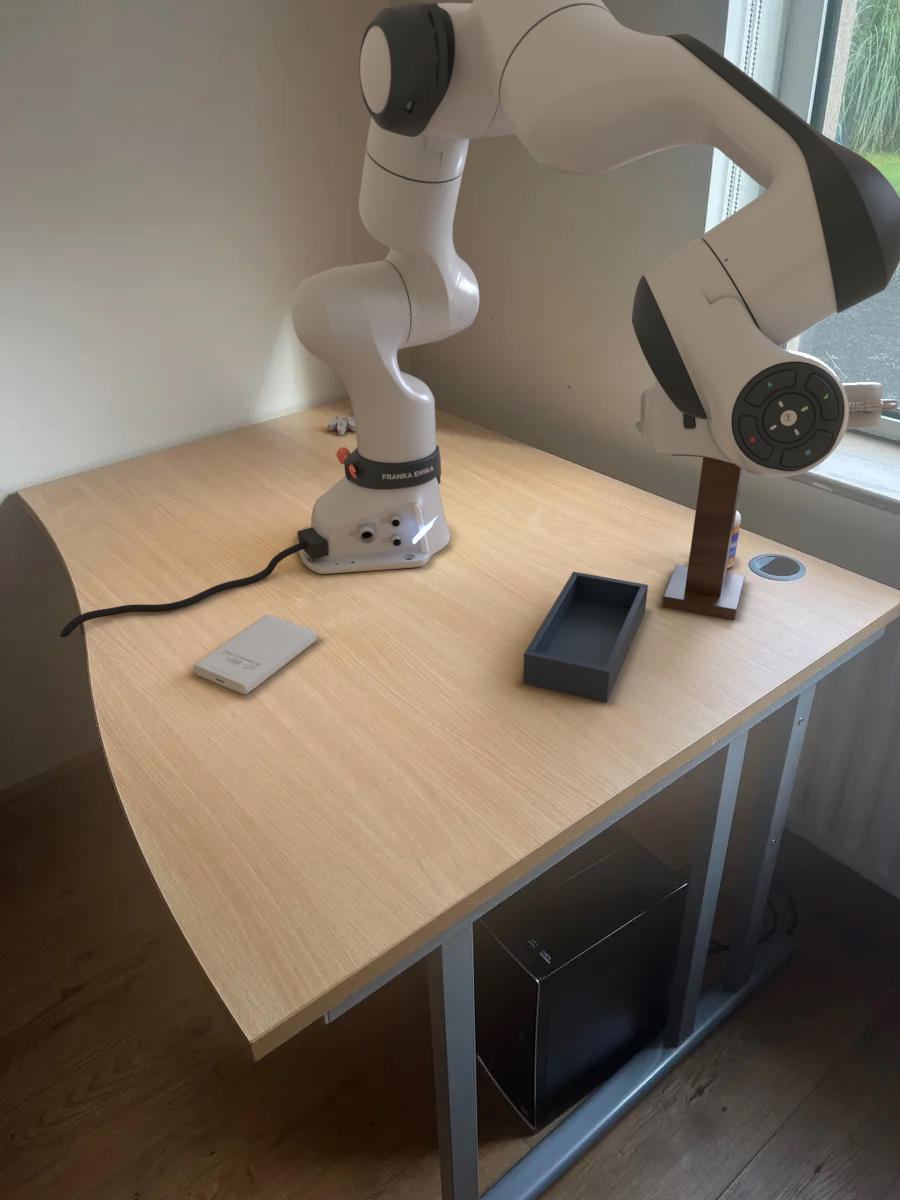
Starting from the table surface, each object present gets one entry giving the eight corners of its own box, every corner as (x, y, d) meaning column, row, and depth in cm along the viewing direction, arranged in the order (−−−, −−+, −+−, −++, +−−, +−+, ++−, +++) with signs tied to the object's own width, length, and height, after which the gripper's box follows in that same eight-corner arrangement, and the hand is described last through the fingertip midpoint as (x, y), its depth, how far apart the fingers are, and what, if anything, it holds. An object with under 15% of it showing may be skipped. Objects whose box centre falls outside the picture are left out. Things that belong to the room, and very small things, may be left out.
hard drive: (317, 642, 105) (246, 696, 96) (267, 624, 109) (194, 674, 100) (316, 631, 104) (244, 684, 95) (265, 613, 108) (191, 663, 99)
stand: (733, 623, 106) (769, 421, 93) (660, 610, 109) (684, 412, 96) (743, 585, 114) (777, 393, 101) (674, 573, 117) (699, 385, 104)
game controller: (329, 436, 165) (328, 423, 163) (324, 417, 175) (323, 404, 173) (359, 433, 166) (358, 420, 164) (352, 414, 175) (351, 402, 174)
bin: (606, 702, 94) (609, 672, 92) (523, 683, 97) (523, 653, 95) (644, 612, 109) (648, 584, 107) (571, 598, 112) (573, 571, 110)
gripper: (907, 363, 67) (868, 367, 80) (637, 378, 72) (642, 380, 85) (901, 445, 68) (865, 436, 81) (637, 455, 73) (642, 445, 86)
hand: (749, 407), depth 83 cm, fingers open, 8 cm apart
